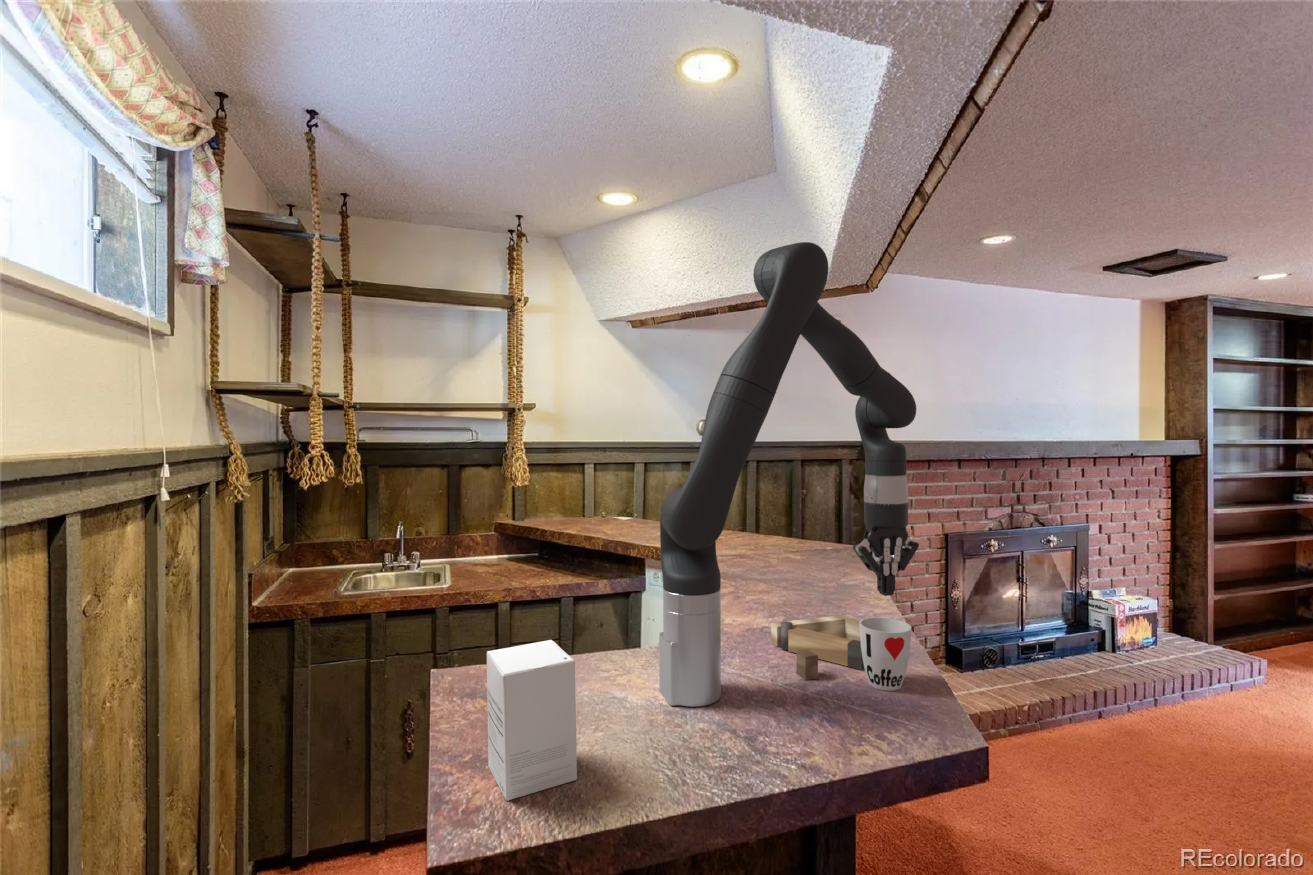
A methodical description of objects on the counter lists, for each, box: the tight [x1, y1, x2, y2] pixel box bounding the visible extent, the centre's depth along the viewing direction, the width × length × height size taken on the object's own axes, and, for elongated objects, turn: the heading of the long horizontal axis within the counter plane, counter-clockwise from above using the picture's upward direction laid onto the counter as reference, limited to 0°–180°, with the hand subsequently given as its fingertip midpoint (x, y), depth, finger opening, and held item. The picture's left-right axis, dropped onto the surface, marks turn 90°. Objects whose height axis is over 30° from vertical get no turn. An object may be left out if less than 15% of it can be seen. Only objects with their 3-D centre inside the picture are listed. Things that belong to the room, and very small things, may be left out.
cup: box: [859, 616, 912, 692], centre depth 104 cm, size 8×8×10 cm
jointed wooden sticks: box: [770, 614, 862, 681], centre depth 117 cm, size 21×18×4 cm
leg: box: [780, 621, 865, 671], centre depth 116 cm, size 3×16×5 cm, turn 50°
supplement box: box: [486, 639, 578, 801], centre depth 78 cm, size 9×9×15 cm
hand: (886, 594), depth 114 cm, fingers closed
